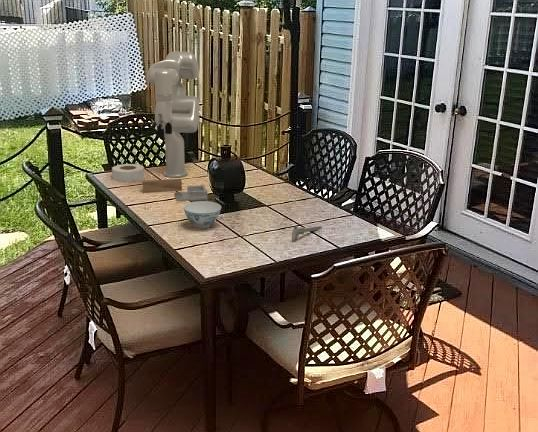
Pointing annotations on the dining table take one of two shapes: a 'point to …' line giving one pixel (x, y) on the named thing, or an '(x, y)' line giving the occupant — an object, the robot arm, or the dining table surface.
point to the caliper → (302, 231)
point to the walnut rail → (162, 185)
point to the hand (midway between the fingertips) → (164, 135)
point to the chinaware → (202, 213)
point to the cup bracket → (192, 193)
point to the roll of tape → (128, 173)
